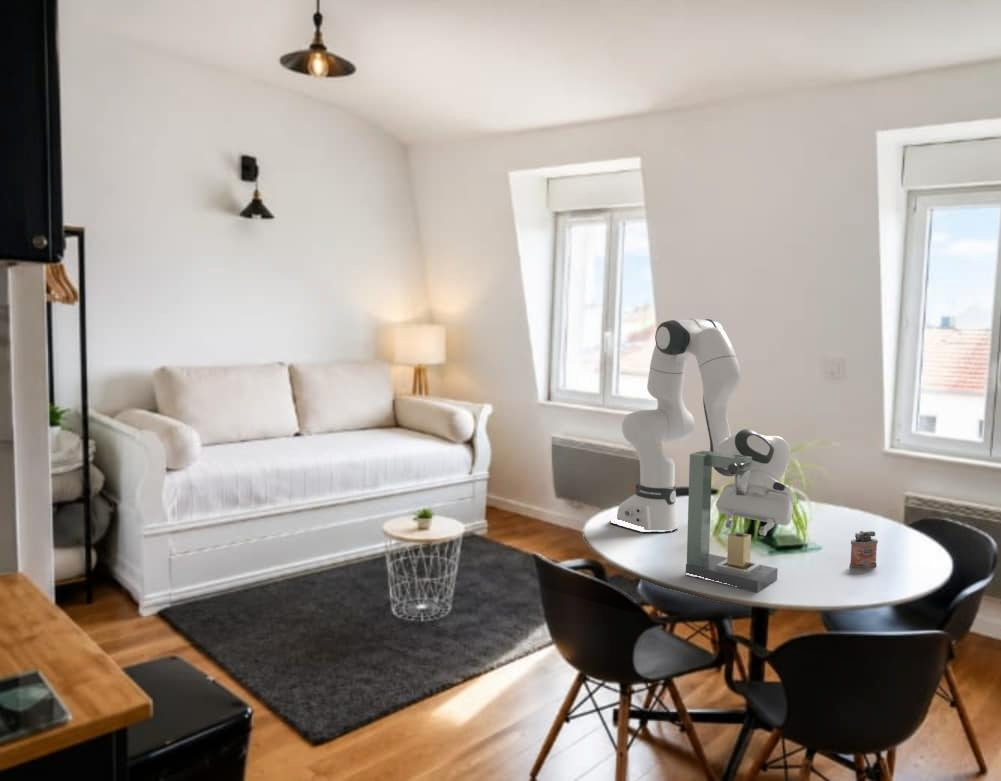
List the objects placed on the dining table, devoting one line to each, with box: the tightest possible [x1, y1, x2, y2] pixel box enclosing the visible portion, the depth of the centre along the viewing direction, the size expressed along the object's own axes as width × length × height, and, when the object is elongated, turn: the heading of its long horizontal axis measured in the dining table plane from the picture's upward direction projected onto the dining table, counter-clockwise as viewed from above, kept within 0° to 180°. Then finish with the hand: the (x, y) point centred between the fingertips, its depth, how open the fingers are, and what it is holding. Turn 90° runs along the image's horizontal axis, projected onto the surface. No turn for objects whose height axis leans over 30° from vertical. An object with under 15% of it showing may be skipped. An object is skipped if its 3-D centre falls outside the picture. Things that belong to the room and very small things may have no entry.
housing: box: [726, 531, 752, 570], centre depth 214 cm, size 4×4×9 cm
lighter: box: [849, 530, 879, 570], centre depth 225 cm, size 8×3×10 cm, turn 106°
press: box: [685, 450, 779, 593], centre depth 212 cm, size 20×18×33 cm
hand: (744, 530), depth 216 cm, fingers open, 8 cm apart
